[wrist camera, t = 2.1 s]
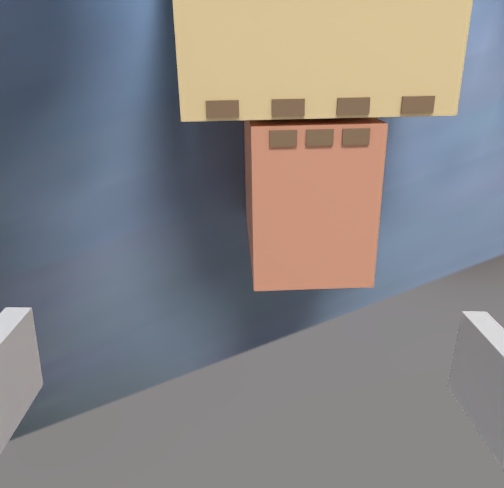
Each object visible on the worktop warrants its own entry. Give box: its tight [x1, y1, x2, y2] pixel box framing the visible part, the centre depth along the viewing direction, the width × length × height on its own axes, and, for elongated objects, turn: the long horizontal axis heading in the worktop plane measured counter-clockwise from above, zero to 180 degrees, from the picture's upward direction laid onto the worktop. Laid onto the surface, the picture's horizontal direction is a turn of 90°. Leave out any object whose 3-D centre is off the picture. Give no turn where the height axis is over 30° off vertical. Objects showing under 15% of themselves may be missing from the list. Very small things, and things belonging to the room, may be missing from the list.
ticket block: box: [172, 0, 473, 122], centre depth 24 cm, size 10×15×13 cm, turn 91°
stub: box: [244, 117, 388, 291], centre depth 28 cm, size 8×6×12 cm
